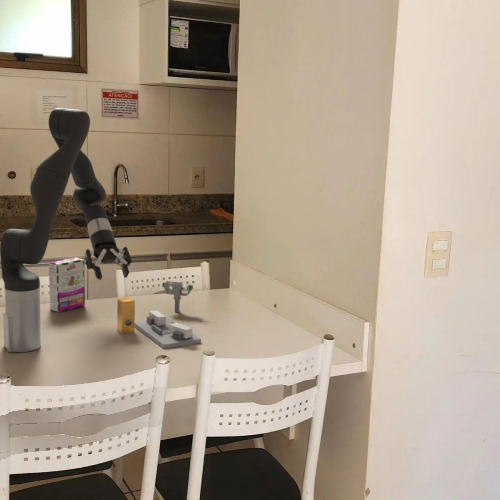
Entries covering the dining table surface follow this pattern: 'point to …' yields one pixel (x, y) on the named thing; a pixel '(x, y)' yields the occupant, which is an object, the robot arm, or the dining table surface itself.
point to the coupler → (125, 315)
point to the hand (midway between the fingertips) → (113, 277)
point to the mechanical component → (176, 291)
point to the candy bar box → (66, 284)
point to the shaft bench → (166, 331)
